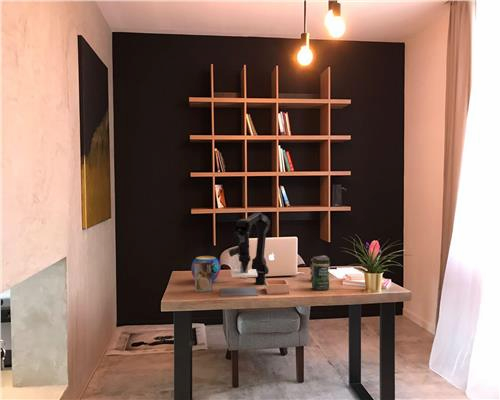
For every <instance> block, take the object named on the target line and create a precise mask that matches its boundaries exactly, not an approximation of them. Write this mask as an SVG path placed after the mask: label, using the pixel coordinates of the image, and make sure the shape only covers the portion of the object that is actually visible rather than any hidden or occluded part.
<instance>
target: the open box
mask: <svg viewBox="0 0 500 400" xmlns="http://www.w3.org/2000/svg"><path fill="white" fill-rule="evenodd" d="M264 290H265V292H266V295H289V294H290V284H289V283H288V281H287V280H286V279H265V284H264Z"/></svg>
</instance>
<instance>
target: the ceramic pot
mask: <svg viewBox="0 0 500 400" xmlns="http://www.w3.org/2000/svg"><path fill="white" fill-rule="evenodd" d="M200 261H210V262H212V282H214V281H215V280H217V278H218V276H219V275H220V271H221V264H220V261H219V260H218V258H217V257H216V256H211V255H202V256H201V255H200V256H196V257H195V259H194V260H193V261H192V264H191V275H192V276H193V278H194V279H195V267H194V262H200Z"/></svg>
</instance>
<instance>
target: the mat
mask: <svg viewBox="0 0 500 400" xmlns="http://www.w3.org/2000/svg"><path fill="white" fill-rule="evenodd" d="M255 296H256V297H257V296H258V297H259V293H258V290H257V287H256V286H249V287H248V286H246V287H245V286H243V287H242V286H240V287H239V286H238V287H220V297H255Z"/></svg>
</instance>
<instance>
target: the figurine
mask: <svg viewBox="0 0 500 400" xmlns="http://www.w3.org/2000/svg"><path fill="white" fill-rule="evenodd" d="M325 256H326V257H328V256H327V255H325ZM310 261H311V262H313V257H312V258H311V259H310ZM309 270H311V271H310V273H309V274H310V276H311V277H310V279H311V280H313V270H314V268H313V264H312V263H311V264H310V267H309ZM328 274H330V271H328Z"/></svg>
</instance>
